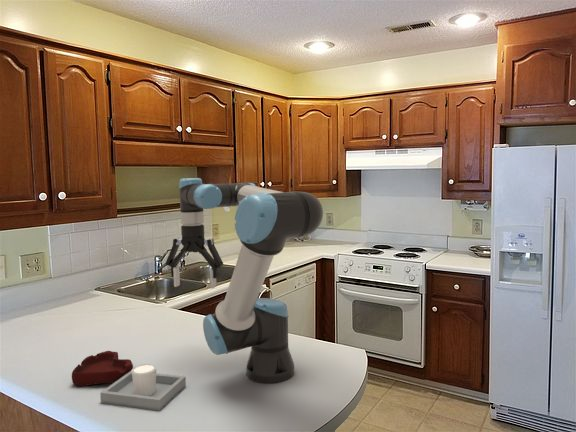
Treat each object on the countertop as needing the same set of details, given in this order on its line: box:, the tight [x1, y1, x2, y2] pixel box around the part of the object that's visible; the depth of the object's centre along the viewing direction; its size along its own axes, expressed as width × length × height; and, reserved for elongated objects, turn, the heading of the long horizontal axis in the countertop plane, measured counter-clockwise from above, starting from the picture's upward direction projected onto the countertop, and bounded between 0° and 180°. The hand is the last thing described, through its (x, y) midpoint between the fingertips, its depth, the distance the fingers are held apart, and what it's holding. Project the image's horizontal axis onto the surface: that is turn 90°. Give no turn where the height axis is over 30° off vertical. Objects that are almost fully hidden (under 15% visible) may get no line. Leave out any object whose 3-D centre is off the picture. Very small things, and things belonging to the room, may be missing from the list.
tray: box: [100, 371, 187, 412], centre depth 129 cm, size 18×14×3 cm
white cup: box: [131, 363, 157, 396], centre depth 129 cm, size 7×7×7 cm
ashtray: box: [71, 350, 134, 387], centre depth 141 cm, size 18×16×5 cm
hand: (195, 286), depth 153 cm, fingers open, 13 cm apart
